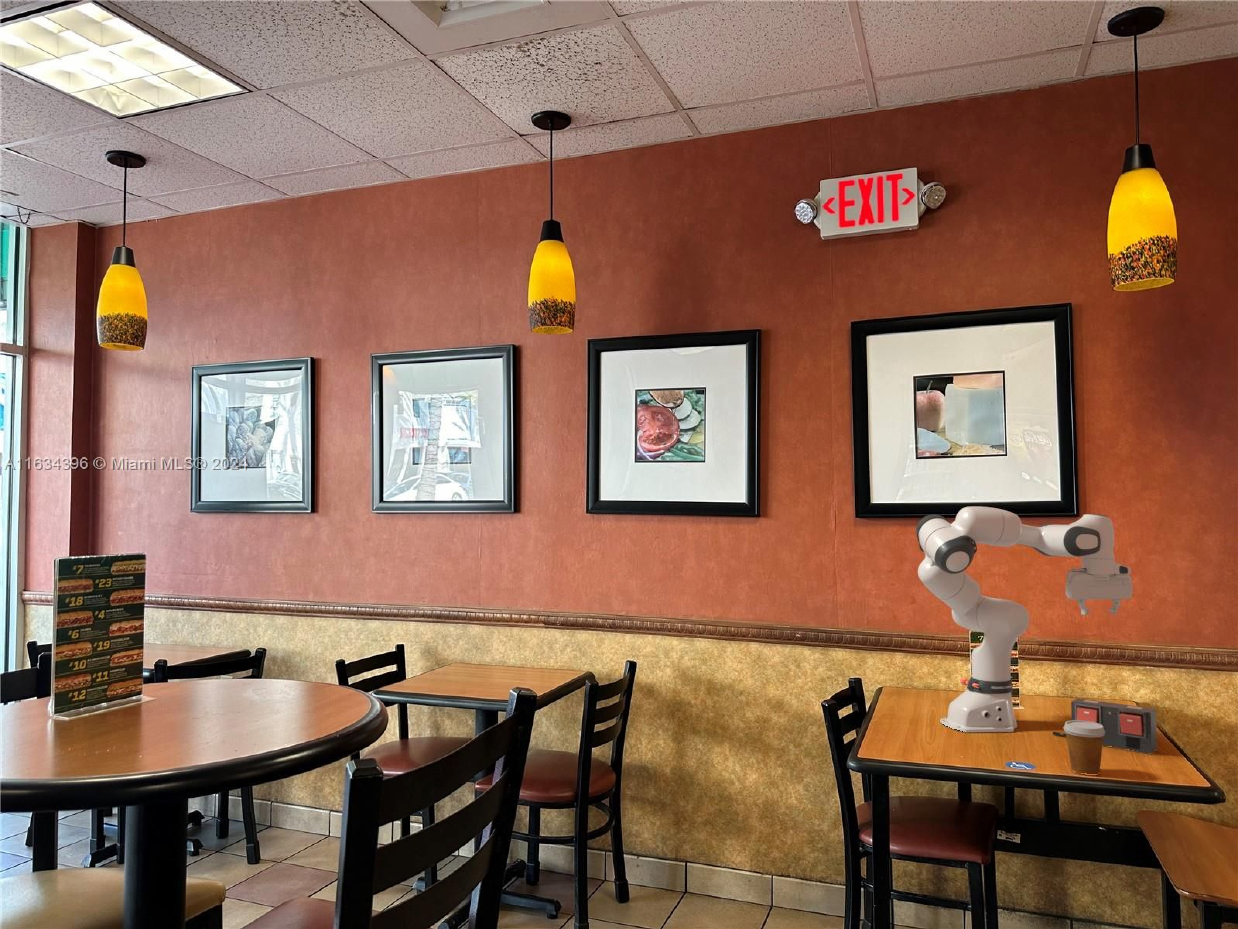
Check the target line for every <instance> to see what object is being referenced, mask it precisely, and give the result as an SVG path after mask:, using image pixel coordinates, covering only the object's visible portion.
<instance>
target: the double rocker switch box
mask: <svg viewBox="0 0 1238 929" xmlns="http://www.w3.org/2000/svg"><path fill="white" fill-rule="evenodd" d="M1077 707H1079V708H1086V709H1093V710H1098V718H1097V723H1098V724H1101V725H1103V728H1104V730H1105V734H1104V736H1103V745H1104V746H1103V747H1105V746H1112V747H1115V748H1114V749H1117V748H1121V749H1120V750H1122V749H1129V750H1134V751H1138V752H1137V753H1140V752H1143V753H1142V754H1146V753H1153V754H1154V753H1155V752H1156V751H1157V750H1158V732H1157V730H1158V729H1157V708H1153V707H1145V706H1137V705H1131V704H1122V703H1116V702H1110V701H1108V702H1107V701H1102V700H1101V701H1100V700H1094V699H1093V700H1092V699H1086V698H1078V697H1077V698H1075V699H1074V700H1072V701H1071V702H1070V708H1071V714H1070V715H1071V721H1072V720H1077ZM1120 714H1127V715H1134V716H1141V722H1142V732H1143V734H1142V736H1141V735H1135V734H1129V733H1122V732H1121V727H1120V717H1119V715H1120ZM1052 735H1053V736H1059V737H1064V736H1066V732H1059V731H1052ZM1116 747H1117V748H1116ZM1156 749H1157V750H1156ZM1155 750H1156V751H1155ZM1134 751H1133V752H1134Z"/></svg>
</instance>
